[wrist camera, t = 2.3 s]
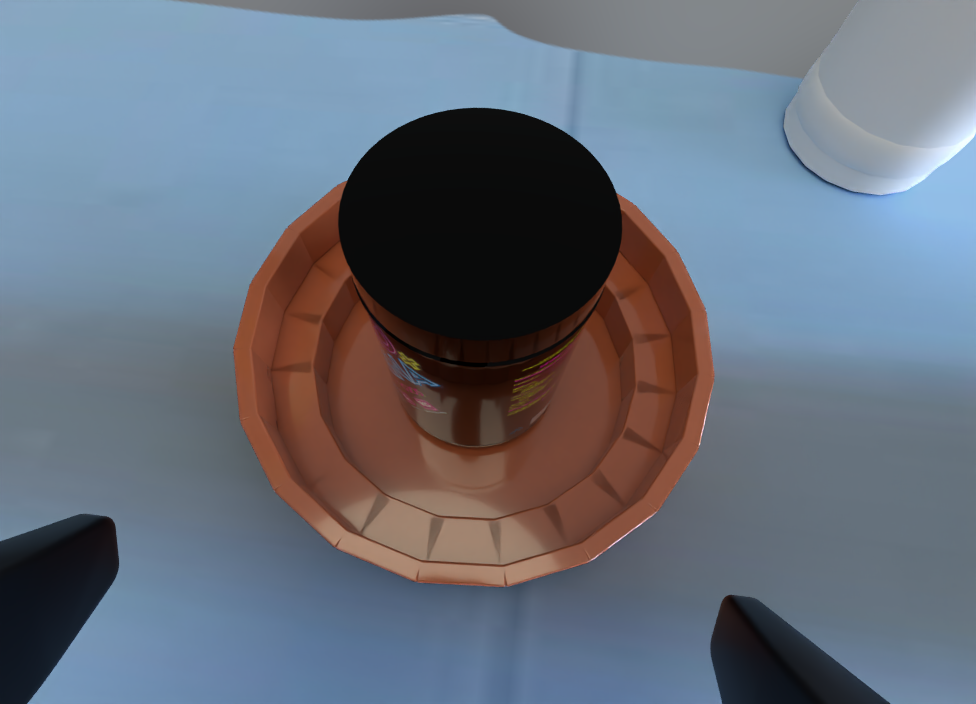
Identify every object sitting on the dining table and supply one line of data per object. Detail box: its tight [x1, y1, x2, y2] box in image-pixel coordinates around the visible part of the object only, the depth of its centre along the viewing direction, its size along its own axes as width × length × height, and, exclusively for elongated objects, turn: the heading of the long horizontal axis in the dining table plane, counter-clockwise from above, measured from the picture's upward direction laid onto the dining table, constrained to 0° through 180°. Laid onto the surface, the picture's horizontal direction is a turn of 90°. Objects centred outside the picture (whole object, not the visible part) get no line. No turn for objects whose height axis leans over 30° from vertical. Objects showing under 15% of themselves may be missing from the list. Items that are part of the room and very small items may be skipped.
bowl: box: [233, 181, 714, 587], centre depth 21 cm, size 16×16×4 cm
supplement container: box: [338, 108, 622, 447], centre depth 17 cm, size 7×7×10 cm
